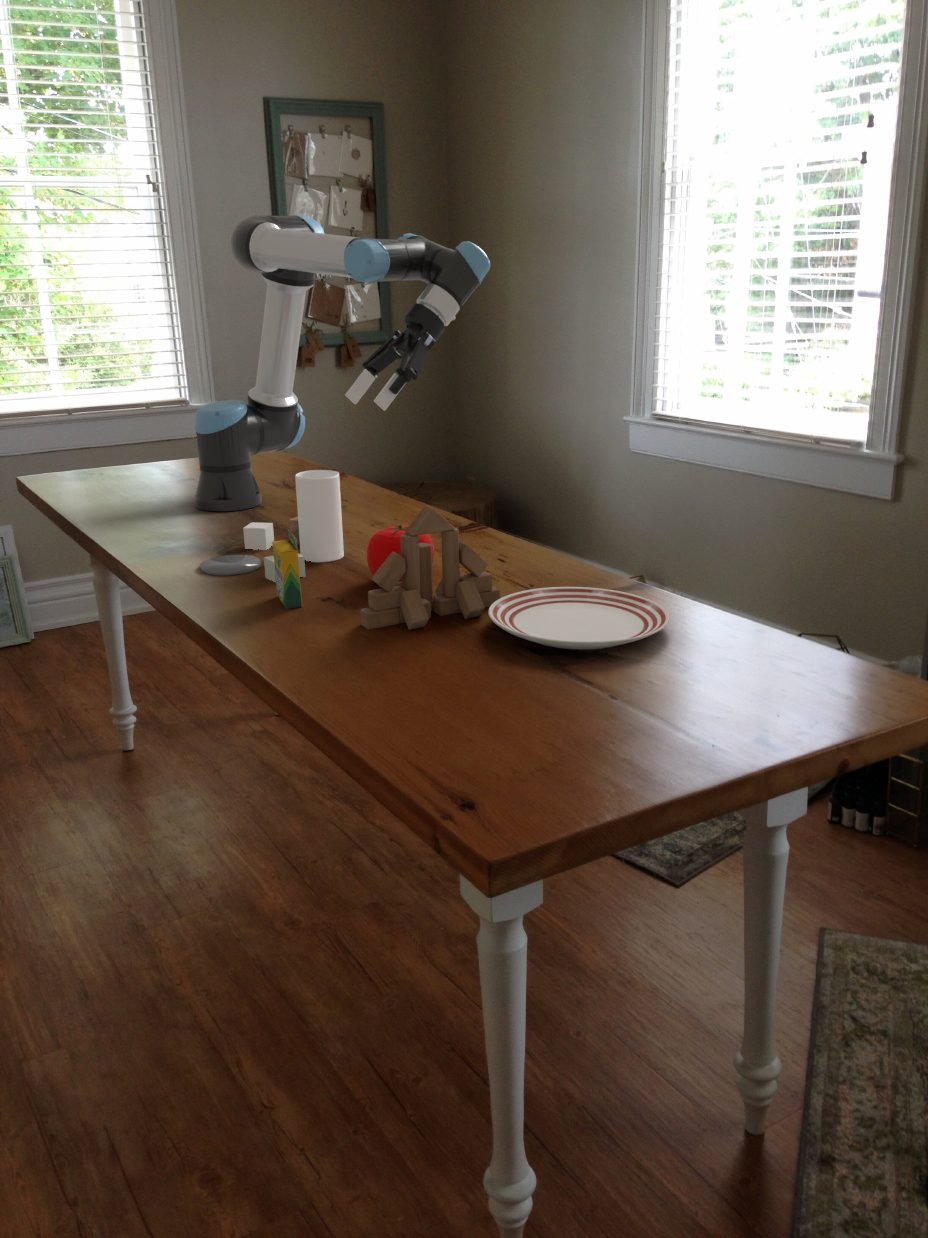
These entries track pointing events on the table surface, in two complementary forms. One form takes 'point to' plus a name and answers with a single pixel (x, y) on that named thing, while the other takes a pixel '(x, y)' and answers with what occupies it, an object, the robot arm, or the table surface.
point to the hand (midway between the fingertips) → (364, 402)
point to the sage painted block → (271, 567)
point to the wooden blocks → (428, 579)
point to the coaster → (230, 565)
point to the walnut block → (294, 529)
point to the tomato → (389, 546)
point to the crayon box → (287, 572)
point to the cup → (319, 515)
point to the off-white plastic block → (258, 536)
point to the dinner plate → (578, 617)
